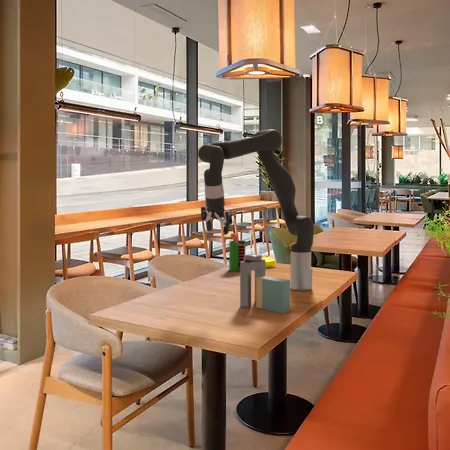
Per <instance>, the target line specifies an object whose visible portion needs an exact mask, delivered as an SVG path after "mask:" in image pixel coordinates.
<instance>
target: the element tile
mask: <svg viewBox="0 0 450 450" xmlns="http://www.w3.org/2000/svg"><path fill="white" fill-rule="evenodd" d="M262 259H265V269H271V267H273V268H276V259H273V258H270V257H267V256H265V255H264V256H262Z"/></svg>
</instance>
